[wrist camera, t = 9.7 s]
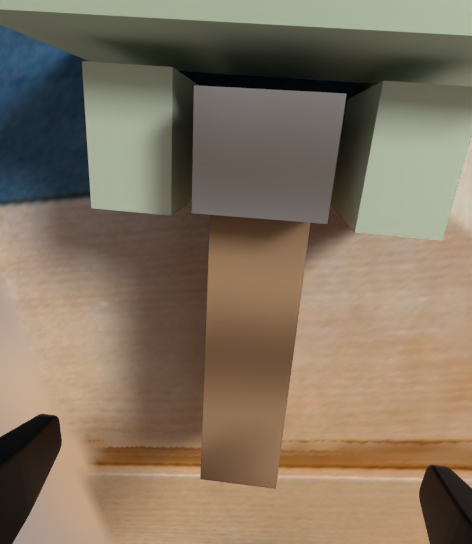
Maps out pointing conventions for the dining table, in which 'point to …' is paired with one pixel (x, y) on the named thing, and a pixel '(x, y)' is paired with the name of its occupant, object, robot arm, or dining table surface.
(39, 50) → the dining table surface
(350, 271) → the dining table surface
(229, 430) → the hammer
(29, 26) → the pale green slab
